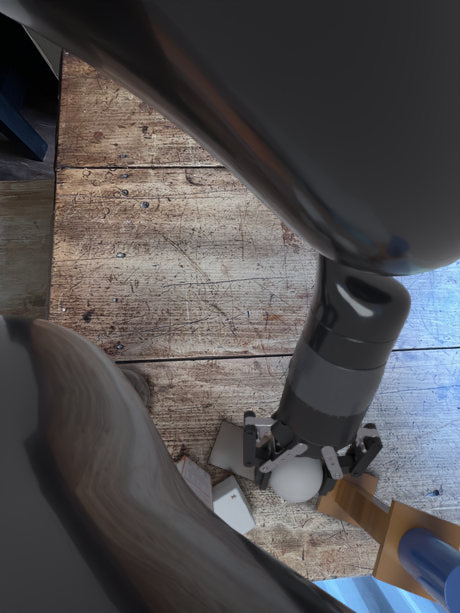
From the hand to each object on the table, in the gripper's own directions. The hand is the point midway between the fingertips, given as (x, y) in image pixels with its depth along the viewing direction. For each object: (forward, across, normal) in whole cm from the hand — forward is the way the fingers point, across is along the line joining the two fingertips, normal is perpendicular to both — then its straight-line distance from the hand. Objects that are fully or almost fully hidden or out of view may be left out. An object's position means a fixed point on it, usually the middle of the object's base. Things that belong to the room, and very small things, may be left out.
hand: (291, 485), depth 43 cm
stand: (+18, +14, +10) cm, 25 cm away
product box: (+20, -6, +8) cm, 22 cm away
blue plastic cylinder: (+2, +14, -5) cm, 15 cm away
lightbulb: (+4, 0, +6) cm, 7 cm away
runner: (+15, 0, +13) cm, 20 cm away
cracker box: (+21, -14, +8) cm, 26 cm away
